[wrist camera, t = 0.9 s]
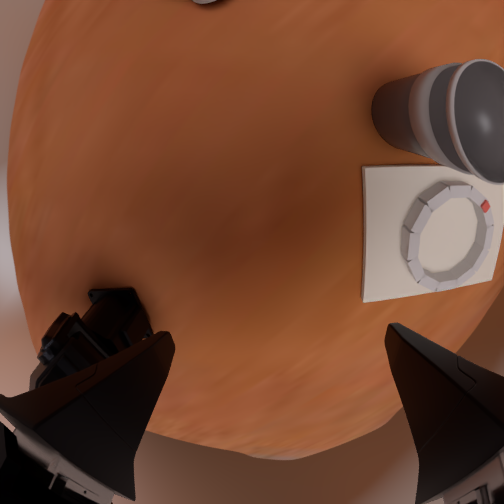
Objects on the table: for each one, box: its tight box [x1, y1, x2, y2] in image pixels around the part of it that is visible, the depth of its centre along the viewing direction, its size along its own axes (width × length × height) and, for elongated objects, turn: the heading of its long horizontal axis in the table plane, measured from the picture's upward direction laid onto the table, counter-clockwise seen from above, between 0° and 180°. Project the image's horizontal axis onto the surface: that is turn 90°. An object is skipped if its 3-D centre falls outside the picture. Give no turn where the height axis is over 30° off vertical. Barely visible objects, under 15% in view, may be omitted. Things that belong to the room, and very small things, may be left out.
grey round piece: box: [372, 59, 504, 185], centre depth 12 cm, size 6×6×11 cm
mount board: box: [361, 165, 504, 303], centre depth 19 cm, size 16×12×3 cm
